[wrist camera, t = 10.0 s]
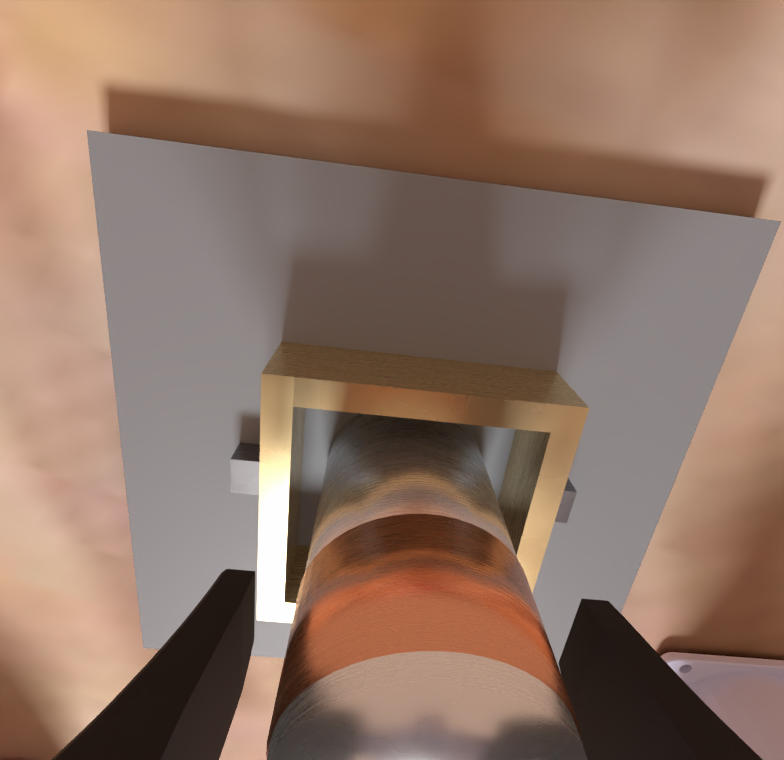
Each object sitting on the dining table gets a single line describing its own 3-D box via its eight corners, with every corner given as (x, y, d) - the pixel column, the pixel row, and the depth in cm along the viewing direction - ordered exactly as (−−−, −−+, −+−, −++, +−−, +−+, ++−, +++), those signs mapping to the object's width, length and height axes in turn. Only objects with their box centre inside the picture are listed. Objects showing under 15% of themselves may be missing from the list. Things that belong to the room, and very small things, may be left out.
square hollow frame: (595, 375, 15) (635, 412, 12) (532, 581, 18) (554, 642, 15) (239, 336, 14) (210, 368, 12) (239, 557, 17) (217, 617, 15)
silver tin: (471, 535, 17) (555, 884, 8) (324, 528, 17) (263, 878, 8) (493, 403, 15) (632, 689, 7) (327, 393, 15) (253, 675, 6)
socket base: (754, 218, 14) (780, 221, 13) (583, 657, 21) (593, 679, 20) (108, 133, 13) (86, 130, 12) (154, 625, 20) (143, 648, 19)
